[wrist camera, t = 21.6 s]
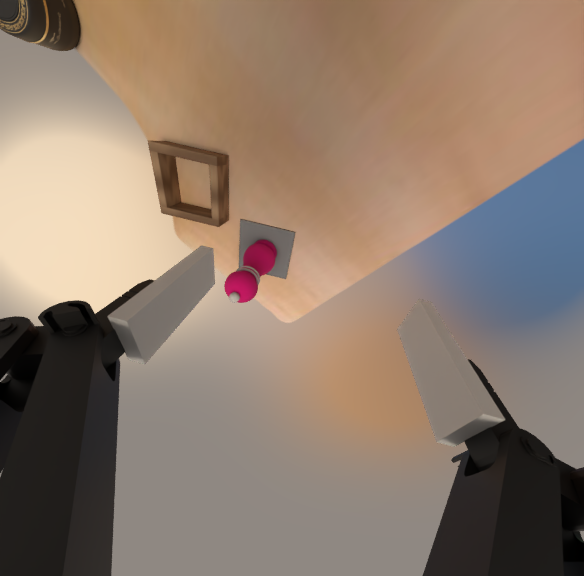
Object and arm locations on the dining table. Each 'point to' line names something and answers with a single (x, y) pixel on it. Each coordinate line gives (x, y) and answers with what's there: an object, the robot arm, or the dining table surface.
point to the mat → (276, 236)
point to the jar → (41, 22)
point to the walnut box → (169, 185)
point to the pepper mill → (251, 271)
